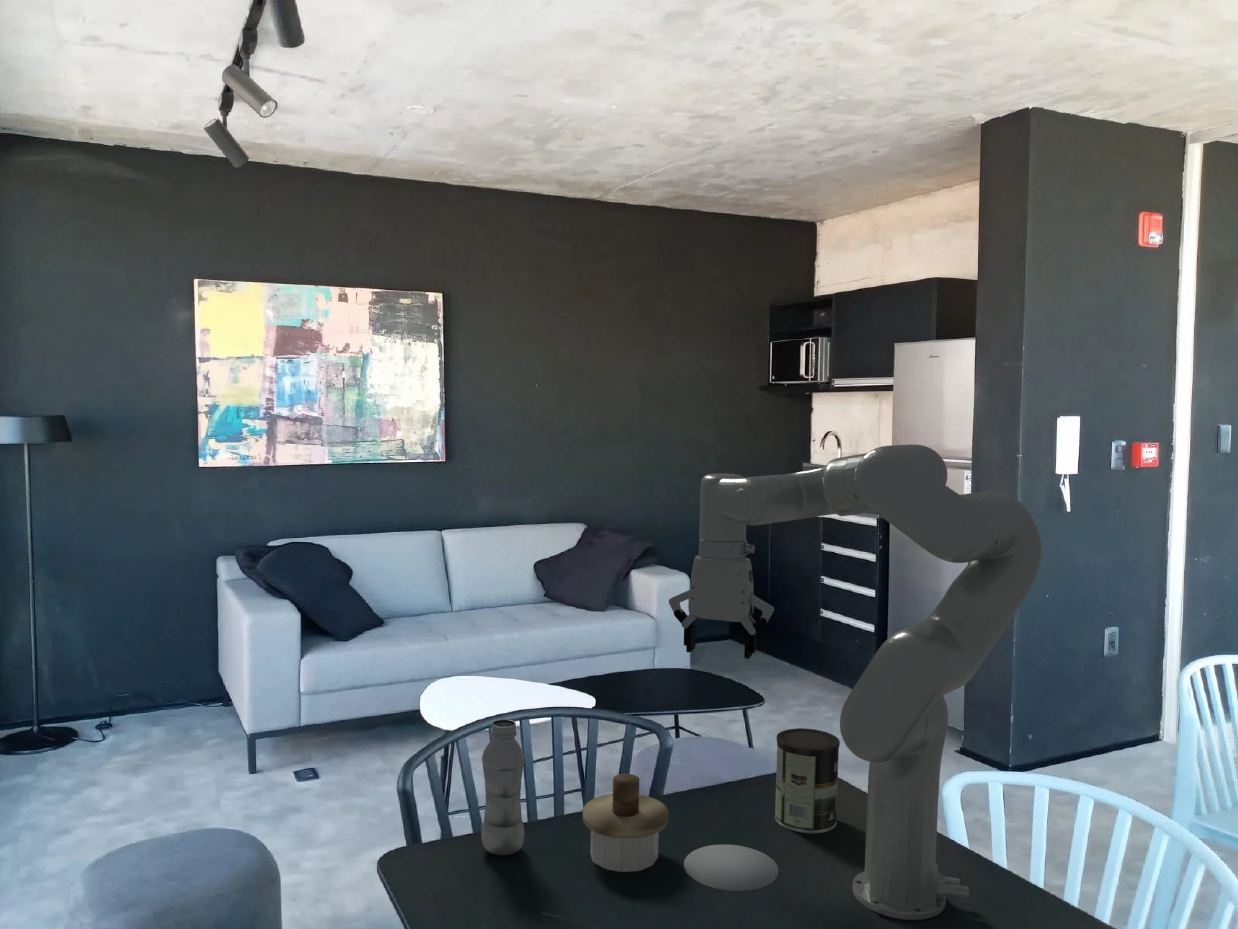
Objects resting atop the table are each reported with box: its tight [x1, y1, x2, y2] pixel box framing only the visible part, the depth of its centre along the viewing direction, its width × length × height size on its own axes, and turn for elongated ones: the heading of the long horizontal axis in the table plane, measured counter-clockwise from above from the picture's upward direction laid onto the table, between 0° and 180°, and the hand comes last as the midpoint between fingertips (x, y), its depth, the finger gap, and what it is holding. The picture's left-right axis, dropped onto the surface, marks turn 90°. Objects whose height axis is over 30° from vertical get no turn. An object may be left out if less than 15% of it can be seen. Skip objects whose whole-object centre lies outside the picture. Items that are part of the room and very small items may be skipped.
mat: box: [683, 844, 779, 892], centre depth 143 cm, size 14×14×1 cm
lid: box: [582, 773, 669, 838], centre depth 145 cm, size 13×13×6 cm
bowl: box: [589, 830, 660, 873], centre depth 145 cm, size 10×10×6 cm
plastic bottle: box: [480, 718, 525, 856], centre depth 146 cm, size 6×7×20 cm
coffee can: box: [774, 727, 841, 834], centre depth 159 cm, size 10×10×14 cm
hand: (719, 653), depth 156 cm, fingers open, 9 cm apart
